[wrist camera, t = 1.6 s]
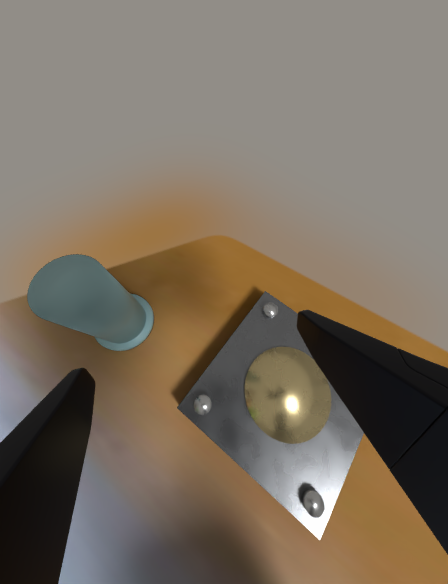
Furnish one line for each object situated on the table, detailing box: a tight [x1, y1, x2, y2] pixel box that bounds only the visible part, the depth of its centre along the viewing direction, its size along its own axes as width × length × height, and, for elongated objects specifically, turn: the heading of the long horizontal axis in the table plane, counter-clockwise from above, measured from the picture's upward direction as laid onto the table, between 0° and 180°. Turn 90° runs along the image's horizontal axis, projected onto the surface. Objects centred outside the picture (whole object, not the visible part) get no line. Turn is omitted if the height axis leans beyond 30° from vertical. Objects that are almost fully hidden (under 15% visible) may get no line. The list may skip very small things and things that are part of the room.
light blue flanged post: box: [27, 254, 154, 351], centre depth 19 cm, size 6×6×10 cm
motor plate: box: [177, 291, 364, 540], centre depth 20 cm, size 15×15×2 cm
